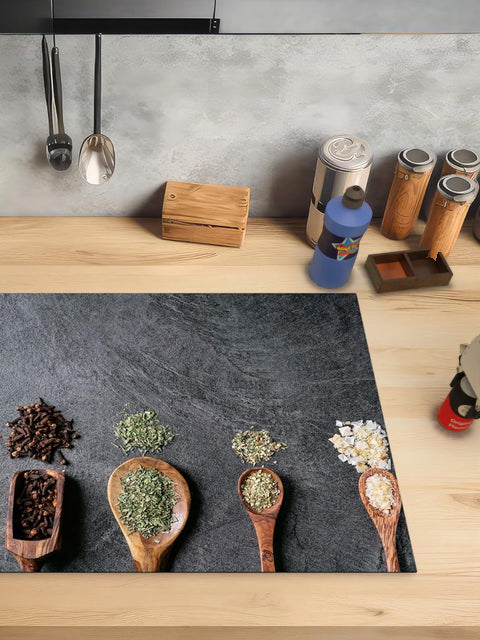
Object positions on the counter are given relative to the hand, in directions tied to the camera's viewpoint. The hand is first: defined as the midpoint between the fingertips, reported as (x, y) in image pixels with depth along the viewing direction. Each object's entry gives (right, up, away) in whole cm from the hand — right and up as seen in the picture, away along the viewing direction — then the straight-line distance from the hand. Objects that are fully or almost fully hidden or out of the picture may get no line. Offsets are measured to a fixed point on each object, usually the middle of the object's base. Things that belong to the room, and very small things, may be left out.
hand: (465, 400), depth 138 cm
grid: (0, +27, +28) cm, 39 cm away
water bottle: (-18, +27, +29) cm, 43 cm away
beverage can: (0, -4, +6) cm, 7 cm away
